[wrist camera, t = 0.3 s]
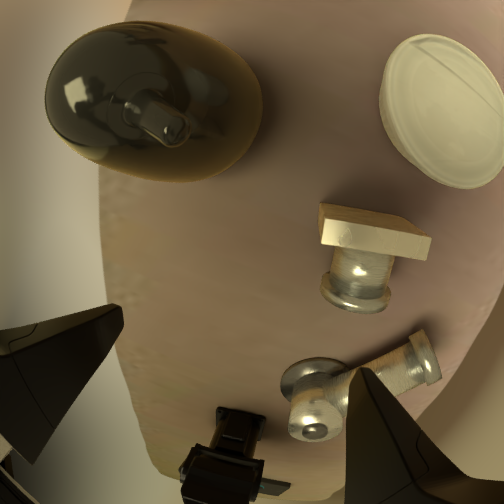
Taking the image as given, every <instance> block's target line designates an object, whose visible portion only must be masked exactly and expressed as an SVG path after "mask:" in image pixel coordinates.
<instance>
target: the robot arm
mask: <svg viewBox="0 0 504 504" xmlns="http://www.w3.org/2000/svg"><path fill="white" fill-rule="evenodd" d="M123 327H124V319H123V311H122V307H121V306H119V305H116V304H113V303H111V304H108V305H104V306H100V307H96V308H93V309H89V310H85V311H81V312H78V313H74V314H70V315H66V316H62V317H58V318H54V319H50V320H46V321H43V322H39V323H34V324H31V325H26V326H22V327H16V328H11V329H5V330H0V504H40V503H39V502H37V501H36V500H35V499H34V498H33V497H32V496H30V494H29V493H27V492H26V491H25V490H24V489H23V488H22V487H21V486H20V485H19V484H18V483H17V482H16V481H15V480H14V476H13V470H12V462H11V456H10V455H9V454H8V453H9V452H10V451H11V450H12V449H13V448H14V449H15V450H16V451H17V452H18V453H19V454H20V455H21V456H22V457H23V458H24V459H25V460H26V461H27V462H28V463H29V464H30V465H31V466H32V465H33V464H34V463H35V461H36V460H37V458H38V456H39V455H40V453H41V452H42V450H43V448H44V447H45V445H46V444H47V442H48V440H49V439H50V437H51V436H52V434H53V432H54V431H55V429H56V428H57V426H58V425H59V423H60V422H61V420H62V418H63V417H64V416H65V414H66V413H67V411H68V409H69V408H70V407H71V405H72V404H73V402H74V401H75V399H76V398H77V396H78V395H79V394H80V392H81V391H82V390H83V388H84V387H85V385H86V384H87V382H88V381H89V379H90V378H91V377H92V375H93V374H94V373H95V371H96V370H97V369H98V367H99V366H100V365H101V363H102V362H103V360H104V359H105V358H106V356H107V355H108V353H109V351H110V350H111V348H112V346H113V344H114V343H115V341H116V339H117V338H118V336H119V334H120V333H121V331H122V329H123ZM264 423H265V417H263V416H258V415H253V414H247V413H243V412H238V411H233V410H229V409H225V408H220V407H218V408H217V409H216V430H215V433H214V435H213V438H212V440H211V443H210V446H209V447H205V446H202V445H201V444H198V443H196V445H195V447H192V448H191V450H190V452H189V455H188V457H187V458H186V459H185V461H184V462H183V463H182V465H181V466H180V467H179V470H178V471H179V473H180V474H181V475H180V483H182V484H183V485H182V487H181V495H182V498H183V502H184V504H249V501H250V502H254V501H255V500H256V497H257V495H258V491H259V488H260V484H261V478H262V473H263V467H264V461H265V460H261V459H260V460H258V459H253V456H254V452H255V448H256V444H257V441H260V440H261V436H262V432H263V427H264ZM344 504H504V481H495V480H484V479H476V478H472V477H469V476H467V475H466V474H464V473H463V472H462V471H461V470H460V469H459V468H458V467H457V466H456V465H455V464H453V462H451V460H450V459H449V458H447V457H446V456H445V455H444V454H443V453H442V452H441V450H440V449H439V448H438V447H437V446H436V445H435V444H434V443H433V442H432V441H431V440H430V438H428V436H427V435H426V434H425V432H424V431H423V430H421V428H420V427H419V425H418V424H417V423H416V422H415V421H414V419H413V418H412V417H411V416H410V415H409V413H408V412H407V411H406V410H405V409H404V407H403V406H402V405H401V404H400V403H399V401H398V400H397V399H396V398H395V397H394V395H393V394H392V393H391V392H390V391H389V390H388V388H387V387H386V386H385V385H384V384H383V382H382V381H381V380H380V379H379V378H378V377H377V375H376V374H375V373H374V372H373V371H372V370H371V369H370V368H368V367H359V368H358V369H357V371H356V373H355V375H354V376H353V378H352V380H351V382H350V385H349V393H348V406H347V417H346V482H345V502H344Z"/></svg>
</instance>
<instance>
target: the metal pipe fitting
mask: <svg viewBox="0 0 504 504" xmlns="http://www.w3.org/2000/svg"><path fill="white" fill-rule="evenodd" d="M318 227H319V233H320V239H321V244H326V245H333V246H335V250H334V255H333V260H332V265H331V270H330V271H329V272H326V273H325V274H324V275H323V276H322V280H321V285H320V292H321V294H322V296H323V297H324V298H325V299H326V300H327V301H329V302H330V303H331V304H333V305H335V306H337V307H339V308H341V309H344V310H347V311H350V312H355V313H362V314H373V313H378V312H381V311H383V310H384V309H386V307H387V306H388V303H389V300H390V297H391V290H390V288H389V287H388V286H387V284H388V281H389V278H390V274H391V271H392V267H393V263H394V259H395V256H401V257H407V258H413V259H419V260H425V261H426V259H427V255H428V251H429V248H430V244H431V240H432V238H431V237H430V236H429V235H427V234H426V233H424V232H423V231H422V230H420V229H419V228H417V227H416V226H415V225H413V224H412V223H410V222H409V221H407V220H406V219H404V218H403V217H400V216H395V215H390V214H385V213H380V212H374V211H369V210H364V209H358V208H352V207H346V206H340V205H334V204H328V203H321V202H320V208H319V215H318ZM348 371H350V369H349V368H348V367H347V366H346V365H344V364H343V363H341V362H339V361H337V360H334V359H330V358H310V359H305V360H302V361H299V362H297V363H295V364H293V365H292V366H290V367H289V368H288V369H287V370H286V371H285V372H284V374H283V376H282V379H281V385H280V388H281V392H282V394H283V396H284V397H285V398H286V399H287V400H288V401H289V402H291V400H292V392H293V386H294V384H295V382H296V381H297V380H298V379H300V378H301V377H303V376H305V375H308V374H314V373H324V374H328V375H331V376H333V377H336V376H338V375H341V374H343V373H346V372H348Z"/></svg>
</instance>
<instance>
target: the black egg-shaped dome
mask: <svg viewBox="0 0 504 504" xmlns="http://www.w3.org/2000/svg"><path fill="white" fill-rule="evenodd" d="M44 100H45V101H44V102H45V110H46V114H47V118H48V121H49V123H50V125H51V126H52V128H53V130H54V131H55V133H56V134H57V135H58V136H59V137H60V138H61V139H62V140H63V141H64V142H65V143H66V144H67V145H68V146H69V147H70V148H71V149H73V150H74V151H76V152H77V153H78V154H80V155H81V156H83V157H85V158H87V159H88V160H90V161H92V162H94V163H96V164H99V165H101V166H103V167H106V168H109V169H111V170H114V171H117V172H121V173H124V174H127V175H130V176H134V177H138V178H142V179H147V180H153V181H161V182H172V183H186V182H195V181H200V180H204V179H207V178H210V177H213V176H215V175H217V174H220V173H221V172H223V171H225V170H226V169H228V168H229V167H231V166H232V165H233V164H235V163H236V162H237V161H238V160H239V159H240V158H241V157H242V156H243V155H244V153H245V152H246V151H247V150H248V148H249V147H250V145H251V144H252V142H253V140H254V138H255V136H256V134H257V132H258V129H259V126H260V123H261V118H262V112H263V99H262V92H261V88H260V85H259V82H258V80H257V78H256V76H255V74H254V72H253V71H252V69H251V68H250V66H249V65H248V64H247V63H246V62H245V61H244V60H243V59H242V58H241V57H240V56H239V55H238V54H237V53H236V52H234V51H233V50H231V49H230V48H228V47H227V46H225V45H224V44H222V43H221V42H219V41H217V40H215V39H213V38H211V37H209V36H207V35H205V34H202V33H200V32H197V31H194V30H191V29H188V28H184V27H181V26H177V25H173V24H168V23H163V22H155V21H127V22H121V23H115V24H111V25H107V26H103V27H100V28H97V29H95V30H92V31H90V32H88V33H86V34H84V35H82V36H81V37H79V38H78V39H77V40H75V41H74V42H73V43H71V44H70V45H69V46H68V47H67V48H66V49H65V50H64V51H63V53H62V54H61V55H60V56H59V58H58V59H57V61H56V62H55V64H54V66H53V68H52V70H51V72H50V74H49V77H48V80H47V83H46V88H45V96H44Z"/></svg>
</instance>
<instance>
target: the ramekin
mask: <svg viewBox="0 0 504 504" xmlns="http://www.w3.org/2000/svg"><path fill="white" fill-rule="evenodd" d="M379 108H380V115H381V118H382V123H383V125H384V129H385V131H386V132H387V135H388V137H389V138H390V140H391V142H392V144H393V145H394V146H395V147H396V149H397V150H398V151H399V152H400V153H401V154H402V156H403V157H404V158H406V159H407V160H408V161H409V162H410V163H412V164H413V165H414V166H416V167H418V168H419V169H420V170H421V171H422V172H423V173H424V174H426V175H427V176H428V177H430V178H431V179H433V180H435V181H437V182H439V183H441V184H444V185H446V186H449V187H453V188H458V189H473V188H478V187H481V186H483V185H485V184H487V183H489V182H490V181H491V180H493V179H494V178H495V177H496V176H497V175H498V173H499V172H500V171H501V169H502V168H503V166H504V95H503V92H502V90H501V88H500V86H499V84H498V82H497V81H496V79H495V77H494V76H493V74H492V73H491V71H490V70H489V69H488V67H487V66H486V65H485V64H484V63H483V62H482V60H481V59H480V58H479V57H478V56H476V55H475V54H474V53H473V52H472V51H471V50H469V49H468V48H467V47H465V46H464V45H462V44H460V43H459V42H457V41H455V40H453V39H450V38H448V37H445V36H441V35H436V34H419V35H415V36H412V37H410V38H408V39H406V40H405V41H403V42H402V43H401V44H400V45H398V46H397V47H396V49H395V50H394V51H393V52H392V54H391V55H390V57H389V59H388V61H387V63H386V66H385V69H384V74H383V80H382V84H381V87H380V95H379Z"/></svg>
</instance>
